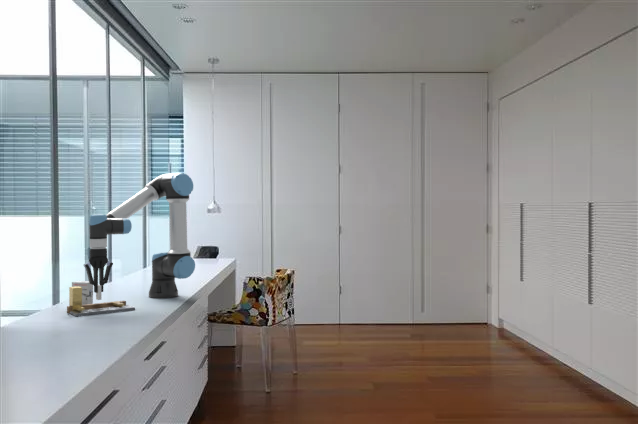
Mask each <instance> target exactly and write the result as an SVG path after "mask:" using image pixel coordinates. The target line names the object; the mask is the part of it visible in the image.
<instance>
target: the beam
mask: <svg viewBox="0 0 638 424" xmlns="http://www.w3.org/2000/svg"><path fill="white" fill-rule="evenodd" d="M125 305H127V301H126V300H117V301H106V302H99V303H98V302H97V303H93V304H85V305H82V307H83V308H85V310H88V309H97V308H106V307H116V306H119V307H122V306H125ZM70 311H72V306H69V305H67V306H66V313H67V314H70Z"/></svg>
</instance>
